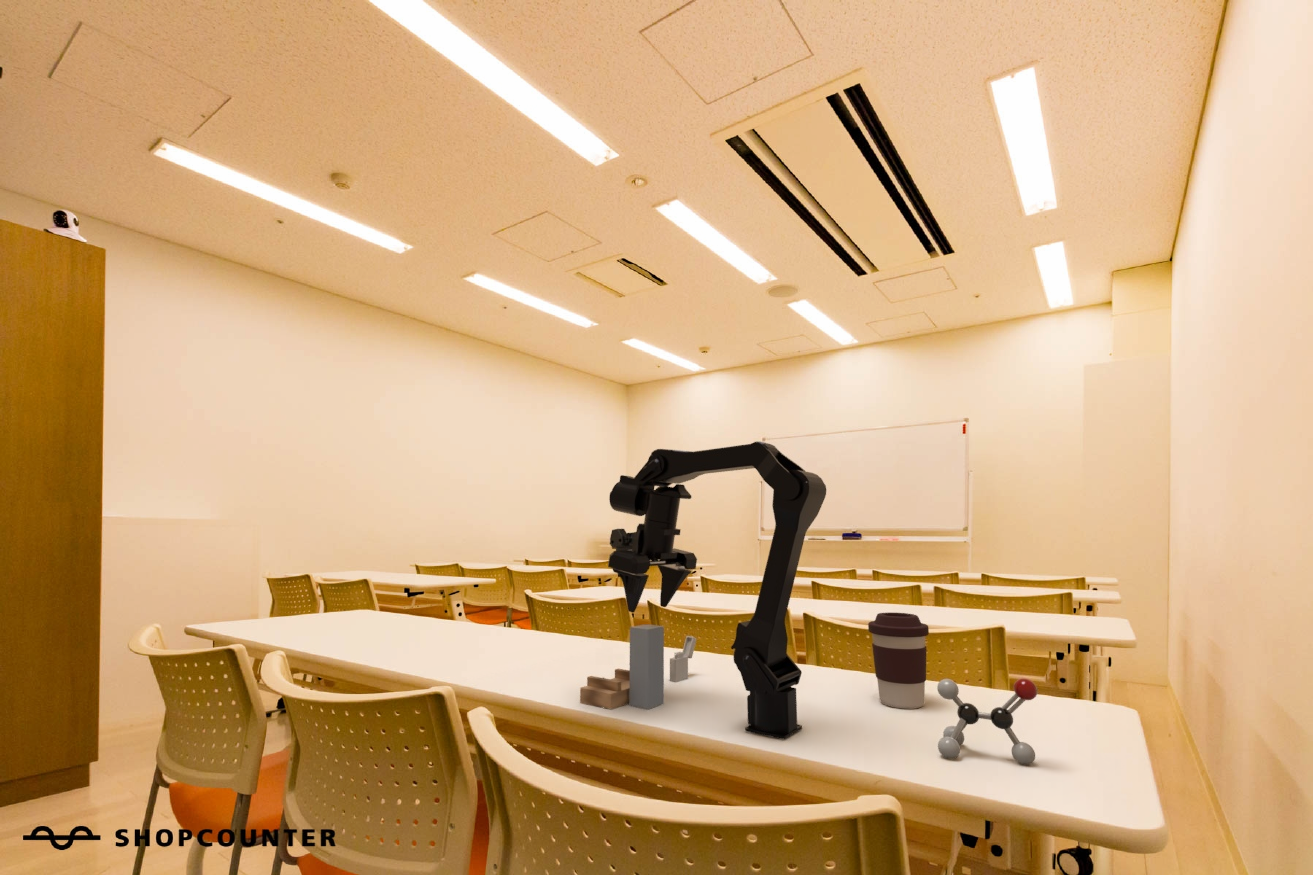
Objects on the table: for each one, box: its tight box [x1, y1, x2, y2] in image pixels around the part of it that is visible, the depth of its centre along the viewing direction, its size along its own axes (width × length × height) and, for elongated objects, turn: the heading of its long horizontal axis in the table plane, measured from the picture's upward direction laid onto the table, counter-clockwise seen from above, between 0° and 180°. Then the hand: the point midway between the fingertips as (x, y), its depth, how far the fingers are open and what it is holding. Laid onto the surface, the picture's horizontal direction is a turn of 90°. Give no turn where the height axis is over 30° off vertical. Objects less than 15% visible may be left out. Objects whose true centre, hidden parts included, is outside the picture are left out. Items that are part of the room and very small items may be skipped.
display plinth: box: [579, 668, 630, 710], centre depth 113 cm, size 7×12×4 cm, turn 143°
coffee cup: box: [867, 612, 930, 710], centre depth 111 cm, size 10×10×15 cm
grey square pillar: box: [628, 623, 665, 710], centre depth 110 cm, size 4×4×13 cm
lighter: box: [669, 635, 697, 683], centre depth 129 cm, size 7×2×8 cm, turn 141°
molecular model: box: [936, 677, 1038, 766], centre depth 85 cm, size 8×12×11 cm
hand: (647, 609), depth 111 cm, fingers open, 9 cm apart
